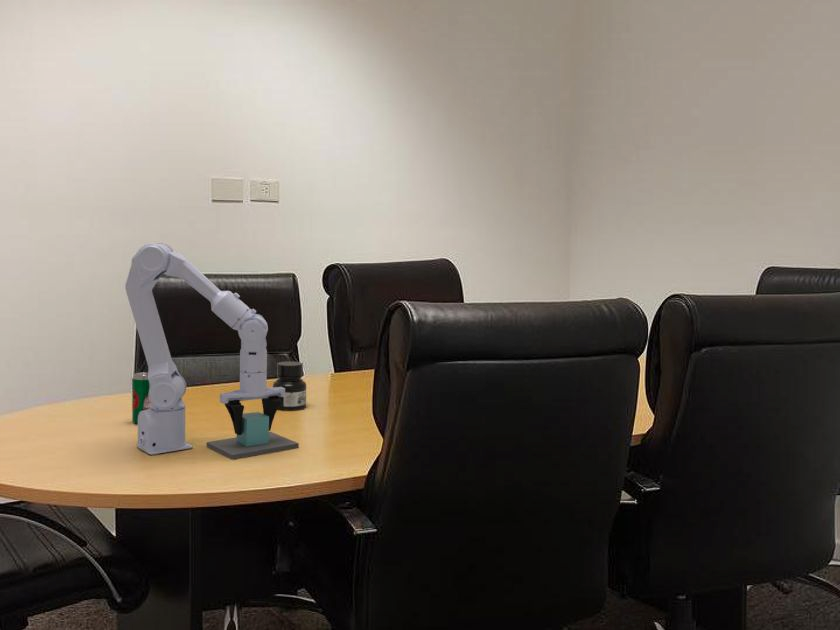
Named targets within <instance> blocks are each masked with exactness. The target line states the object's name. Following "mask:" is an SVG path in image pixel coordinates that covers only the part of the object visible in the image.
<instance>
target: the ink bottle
mask: <svg viewBox="0 0 840 630" xmlns="http://www.w3.org/2000/svg"><path fill="white" fill-rule="evenodd" d="M303 373H304V365H303V363H302V362H299V361H281V362H277V363H276V375H277V376H276V377H277V379H276V380H275V381H274V382H273V384H272V387H283V388H285V397H279V399H281V404H280V406H279V408H278V409H277V410H279V411H280V410H281V411H297V410H303V409H304V408H306V407H307V383H306V381H304V379H302V377H303Z"/></svg>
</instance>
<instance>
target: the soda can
mask: <svg viewBox="0 0 840 630" xmlns="http://www.w3.org/2000/svg"><path fill="white" fill-rule="evenodd" d="M149 389H150V384H149V380H148V371H147V372H146V371H145V372H144V371H143V372H135V373H134V374H133V377H132V378H131V408H132V410H131V413H132V418H131V419H132V420H131V422H133V424H135V425H138V415H139V412H140V411H143V410H147V409H149V408H150V405H151V402H150V400H149Z"/></svg>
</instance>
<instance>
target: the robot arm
mask: <svg viewBox="0 0 840 630" xmlns="http://www.w3.org/2000/svg"><path fill="white" fill-rule="evenodd" d="M130 264H131V265H130V268H129V271H128V275H127V278H126V281H125V286H124V287H125V292H126V297H127V299H128V302H129V307H130V309H131V314H132V316H133V319H134V324H135V326H136V330H137V333H138V336H139V341H140V343H141V346H142V350H143V353H144V357H145V360H146V364H147V367H148V371H147V373H148V380H149V384H150V389H149V400H150V402H151V405H150V408H149V409H147V410H143V411H140V412H139V415H138V424H137V444H136V447H137V448H139V449H140V450H141V451H144V452H145V453H146V454H149V455H151V456H153V455H157V454H158V455H159V454H163V453H164V454H165V453H170V452H176V451H183V450H188V449H189V450H190V449H193V448H194V445H192V444H190V443H188V442H186V403H185V402H184V401H183V397H184V396H185V394H186V391H187V383H186V380H185V379H184V377H183V376H182V375H181V374H180V373H179V370H178V367H177V365H176V363H174V361H173V359H172V355H171V351H170V348H169V345H168V343H167V342H168V341H167V339H166V335H165V332H164V328H163V324H162V321H161V317H160V314H159V311H158V307H157V304H156V300H155V297H154V294H153V289H154V287H155V286H156V284H157V283H158V281H159V279H160V278H161V277H162V276H163V275H165V276H167V277H174V278H178V279H179V278H180V279H182V280H183V281H184V282H185V283H186V284H188V285H189V286H190V287H191V288H192V289H194V290H196V292H198V293H199V294H200V295H202V296H203V297H204V298H205V299H206V300H208V301H209V302H210V306H211V307H210V308H211V309H210V310H211V312H213V313H214V314H215V315H216V316H217V317H218V318H220V319H221V320H222V321H223V322H224V323H225V324H226V325H228V326H229V327H230V328H231V329H233V330H235V331H237V333H238V336H239V339H240V347H241V348H240V350H239V389H237V390H232V391H227V392H226V391H225V392H220V393H219V402H220V403H221V404H224V406H225V408H226V409H227V412H228V414H229V417H230V419H231V422H232V425H233V431H234V434H236V436H237V435H242V416H243V414H244V410H245V406H244V405H243V404H242V402H245V401H251V400H253V401H254V400H260V399H261V403H262V410H263V411H262V414H265V415H267V416H269V432H271V429H272V425H273V421H274V418H275V416H276V413H277V411H278V410H279V409H278V408H279V406H280V404H281V399H279V397H285V388H283V387H273V386H272V387H267V384H268V382H267V380H268V378H267V377H268V376H267V375H268V370H267V369H268V365H267V364H268V350H267V346H268V345H267V338H266V337H267V334H268V331H269V327H268V322H267V321H266V320H265V318H264V316H263V315H261V314H260V313H259V314H258V313H257V310H256V309H254V308H252V309H251V308H250V307H249V306H248V305H247V304H245V303H244V301H242V300H241V299H239V298H240V297H241V295H239V293H237V292H234V293H233V292H232V291H230V290H220V288H218V287H217V286H216V285H215V284H214V283H213V282H212V281H211V280H210V278H208V277H207V276H205V275H204V274H203V273H202V272H201V271H200V270H199V269H198V268H197V267H196V266H195V265H194V264H193V263H191V261H190V260H188V259H187V258H186V257H185V256H184V255H182V254H181V253H180V252H178V251H174V249H173V248H172V246H170V245H169V244H167V243H164V242H157V243H147V244H144V245H143V246H141V247H140V248H139V249H138V250H137V251H136V253H135V254H134V255H133V256H132V257H131V263H130Z"/></svg>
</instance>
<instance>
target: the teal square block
mask: <svg viewBox="0 0 840 630" xmlns="http://www.w3.org/2000/svg"><path fill="white" fill-rule="evenodd" d="M269 432H270V431H269V416H267V415H265V414H263V412H260V411H254V412H253V411H252V412H246V413H245V412H243V416H242V435H237V434H236V437H237V442H239V443H241V444H243V445H245V446H246V447H248V446H254V445H261V444H267V443H269Z"/></svg>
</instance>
